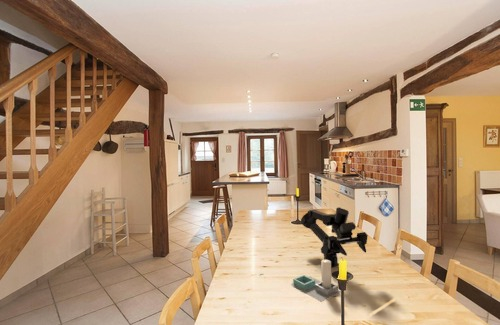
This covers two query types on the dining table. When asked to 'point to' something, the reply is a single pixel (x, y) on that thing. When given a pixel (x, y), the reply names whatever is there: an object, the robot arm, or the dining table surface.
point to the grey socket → (324, 291)
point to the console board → (315, 293)
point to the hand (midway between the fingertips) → (356, 253)
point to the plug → (326, 274)
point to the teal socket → (301, 285)
